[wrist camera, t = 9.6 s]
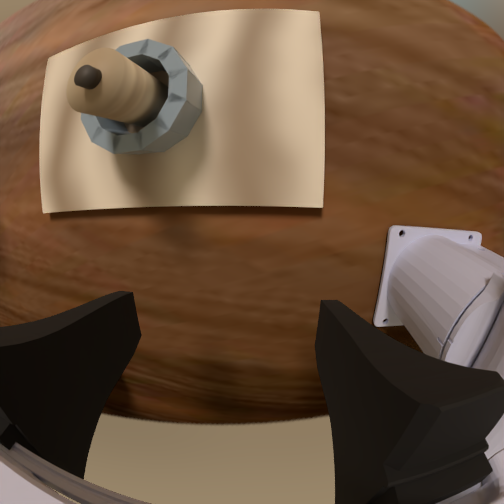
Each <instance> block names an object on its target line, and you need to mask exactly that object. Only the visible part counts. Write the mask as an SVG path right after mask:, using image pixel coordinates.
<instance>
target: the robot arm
mask: <svg viewBox="0 0 504 504" xmlns="http://www.w3.org/2000/svg"><path fill="white" fill-rule="evenodd" d="M401 230H403V234H402V235H401V236H399V232H400V231H401ZM469 236H470V239H469ZM481 240H482V235H481V233H479V232H476V231H465V230H453V229H441V228H428V227H413V226H398V225H394V226H391V227H390V228H389V231H388V237H387V245H386V252H385V259H384V266H383V272H382V278H381V283H380V289H379V294H378V299H377V304H376V309H375V313H374V318H373V323H374V325H375V326H376V327H385V326H400V325H404V326H405V327H406V329H407V330H408V331H409V333H410V334H411V336H412V337H413V338H414V340H415V341H416V343H417V344H418V345H419V347H420V348H421V350H422V351H423V353H421V352H419V351H416V350H414V349H412V348H410V347H408V346H406V345H404V344H402V343H400V342H398V341H396V340H395V339H393V338H391V337H389V336H388V335H386V334H385V333H383V332H381V331H380V330H378V329H377V328H375V327H374V326H372V325H371V324H370V323H368V322H367V321H365V320H364V319H363V318H361V317H360V316H359V315H357V314H356V313H355V312H353V311H352V310H351V309H349V308H348V307H347V306H345V305H344V304H343V303H341V302H340V301H338V300H321V304H320V312H319V320H318V327H317V334H316V341H315V351H316V360H317V368H318V372H319V376H320V380H321V384H322V388H323V392H324V396H325V399H326V403H327V407H328V411H329V416H330V422H331V428H332V439H333V450H334V464H335V504H504V258H503V257H501V256H499V255H498V254H496V253H494V252H492V251H490V250H488V249H486V248H484V247H482V246H480V245H481ZM384 319H387V320H386V321H385V322H383V320H384ZM140 338H141V331H140V327H139V322H138V317H137V312H136V307H135V302H134V296H133V292H125V291H118V292H114V293H111V294H108V295H105V296H103V297H100V298H98V299H95V300H93V301H90V302H88V303H85V304H83V305H81V306H78V307H76V308H73V309H70V310H68V311H65V312H62V313H60V314H57V315H54V316H51V317H48V318H45V319H41V320H37V321H34V322H29V323H24V324H19V325H13V326H6V327H0V504H76V503H74V502H72V501H70V500H68V499H67V498H65V497H63V496H61V495H59V494H58V493H57V492H56V491H58V492H60V493H62V494H63V495H65V496H67V497H69V498H71V499H73V500H75V501H77V502H79V503H81V504H151V503H147V502H143V501H140V500H136V499H133V498H130V497H127V496H124V495H121V494H118V493H116V492H113V491H110V490H107V489H104V488H102V487H100V486H97V485H95V484H92V483H90V482H88V481H85V480H84V473H85V467H86V462H87V457H88V453H89V449H90V445H91V441H92V438H93V435H94V432H95V429H96V426H97V423H98V420H99V417H100V415H101V413H102V410H103V408H104V405H105V403H106V401H107V399H108V397H109V395H110V393H111V391H112V390H113V388H114V386H115V385H116V383H117V381H118V380H119V378H120V376H121V375H122V373H123V371H124V370H125V368H126V366H127V365H128V363H129V361H130V360H131V358H132V356H133V355H134V352H135V350H136V348H137V345H138V343H139V340H140ZM48 486H49V487H48ZM50 487H51V488H52V489H51V488H50ZM53 489H54V490H56V491H54V490H53Z"/></svg>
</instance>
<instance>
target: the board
mask: <svg viewBox="0 0 504 504" xmlns="http://www.w3.org/2000/svg"><path fill="white" fill-rule="evenodd" d="M145 39H150V40H153V41H157V42H160V43H163V44H166V45H169V46H173V47H174V48H175V49H176V50H177V51H178V53H179V54H180V55H181V56H182V57H183V58H184V59H185V61H186V62H187V63H188V64H189V65H190V67H191V68H192V70H193V72H194V73H195V75H196V76H197V78H198V79H199V81H200V82H201V84H202V85H203V88H202V112H201V114H200V116H199V117H198V119H197V121H196V123H195V124H194V126H193V128H192V130H191V131H190V133H189V135H188V137H186V138H184V139H183V140H181V141H180V142H178V143H177V144H175V145H174V146H172V147H171V148H169V149H168V150H167V151H165V152H158V153H148V154H140V155H138V154H113V153H111V152H109V151H107V150H105V149H104V148H102V147H100V146H98V145H96V144H94V143H92V142H91V140H90V138H89V136H88V134H87V132H86V130H85V127H84V125H83V123H82V121H81V113H80V112H77V111H75V110H74V109H72V108H71V106H70V105H69V103H68V100H67V94H66V91H67V84H68V80H69V77H70V75H71V73H72V71H73V69H74V68H75V66H76V65H77V63H78V62H79V61H80V60H81V59H82V58H83V57H84V56H86V55H87V54H88V53H90V52H92V51H94V50H96V49H99V48H112V49H114V50H116V49H117V48H118V47H119V46H122V45H125V44H129V43H133V42H137V41H141V40H145ZM150 74H151V75H152V76H154V77H155V78H157V79H158V80H159V81H161V82H162V83H163V84H165V85H166V86H168V87H169V75H168V73H167V72H165V71H158V72H153V73H150ZM124 124H125V126H126V128H127V130H128V131H129V133H137V132H139V131H140V130H141V129H143V127H139V126H135V125H132V124H128V123H124ZM324 159H325V105H324V74H323V54H322V40H321V27H320V16H319V12H315V11H304V10H290V9H237V10H223V11H212V12H203V13H195V14H188V15H182V16H176V17H171V18H166V19H161V20H156V21H152V22H148V23H143V24H140V25H136V26H132V27H128V28H125V29H122V30H118V31H115V32H112V33H109V34H106V35H103V36H100V37H97V38H95V39H92V40H89V41H87V42H84V43H81V44H79V45H77V46H74V47H72V48H69V49H67V50H65V51H63V52H61V53H58V54H56V55H54V56H52V57H50V58H48V63H47V68H46V75H45V81H44V89H43V97H42V107H41V121H40V184H41V198H42V209H43V213H51V212H63V211H77V210H92V209H110V208H132V207H161V206H284V207H314V208H323V193H324Z"/></svg>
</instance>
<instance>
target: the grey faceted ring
mask: <svg viewBox="0 0 504 504" xmlns="http://www.w3.org/2000/svg"><path fill="white" fill-rule="evenodd" d="M116 51H118V52H119V53H121V54H122V55H124V56H125V57H127V58H128V59H130V60H131V61H132V62H134V63H135V64H137V65H138V66H140V67H141V68H143V69H144V70H145V71H147V72H148V73H153V72H158V71H165V72H167V73H168V75H169V89H168V98H167V100H166V102H165V104H164V105H163V107H162V109H161V111H160V112H159V114H158V116H157V118H156V119H155V120H153V121H152V122H151V123H149V124H148V125H147V126H145V127H144V128H143V129H141V130H140V131H139V132H137V133H129V131H128V130H127V128H126V126H125V124H124V122H120V121H116V120H111V119H107V118H103V117H98V116H94V115H89V114H84V113H81V121H82V123H83V125H84V127H85V130H86V132H87V134H88V136H89V138H90V140H91V142H92V143H94V144H96V145H98V146H100V147H102V148H104V149H105V150H107V151H109V152H111V153H113V154H138V155H140V154H148V153H158V152H165V151H167V150H168V149H169V148H171V147H172V146H174V145H175V144H177V143H178V142H180V141H181V140H183V139H184V138H186V137H188V135H189V133H190V131H191V130H192V128H193V126H194V124H195V123H196V121H197V119H198V117H199V116H200V114H201V112H202V88H203V85H202V84H201V82H200V81H199V79H198V78H197V76H196V75H195V73H194V72H193V70H192V68H191V67H190V65H189V64H188V63H187V62H186V61H185V59H184V58H183V57H182V56H181V55H180V54H179V53H178V51H177V50H176V49H175V48H174V47H173V46H169V45H166V44H163V43H160V42H157V41H153V40H150V39H145V40H141V41H137V42H133V43H129V44H125V45H122V46H119V47H118V48H117V49H116Z"/></svg>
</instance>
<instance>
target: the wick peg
mask: <svg viewBox="0 0 504 504" xmlns="http://www.w3.org/2000/svg"><path fill="white" fill-rule="evenodd" d="M168 89H169V87H168V86H166V85H165V84H163V83H162V82H161V81H159V80H158V79H157V78H155V77H154V76H152V75H151V74H150V73H148V72H147V71H145V70H144V69H143V68H141V67H140V66H138V65H137V64H135V63H134V62H132V61H131V60H130V59H128V58H127V57H125V56H124V55H122V54H121V53H119V52H118V51H116V50H114V49H112V48H99V49H96V50H94V51H92V52H90V53H88V54H87V55H86V56H84V57H83V58H82V59H81V60H80V61H79V62H78V63H77V65H76V66H75V68H74V69H73V71H72V73H71V75H70V77H69V80H68V84H67V91H66V94H67V100H68V103H69V105H70V106H71V108H72V109H74V110H75V111H77V112H80V113H84V114H89V115H94V116H98V117H103V118H107V119H111V120H116V121H120V122H124V123H128V124H132V125H135V126H139V127H143V128H144V127H145V126H147V125H148V124H149V123H151V122H152V121H153V120H155V119H156V118H157V116H158V114H159V112H160V111H161V109H162V107H163V105H164V104H165V102H166V100H167V98H168Z"/></svg>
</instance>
